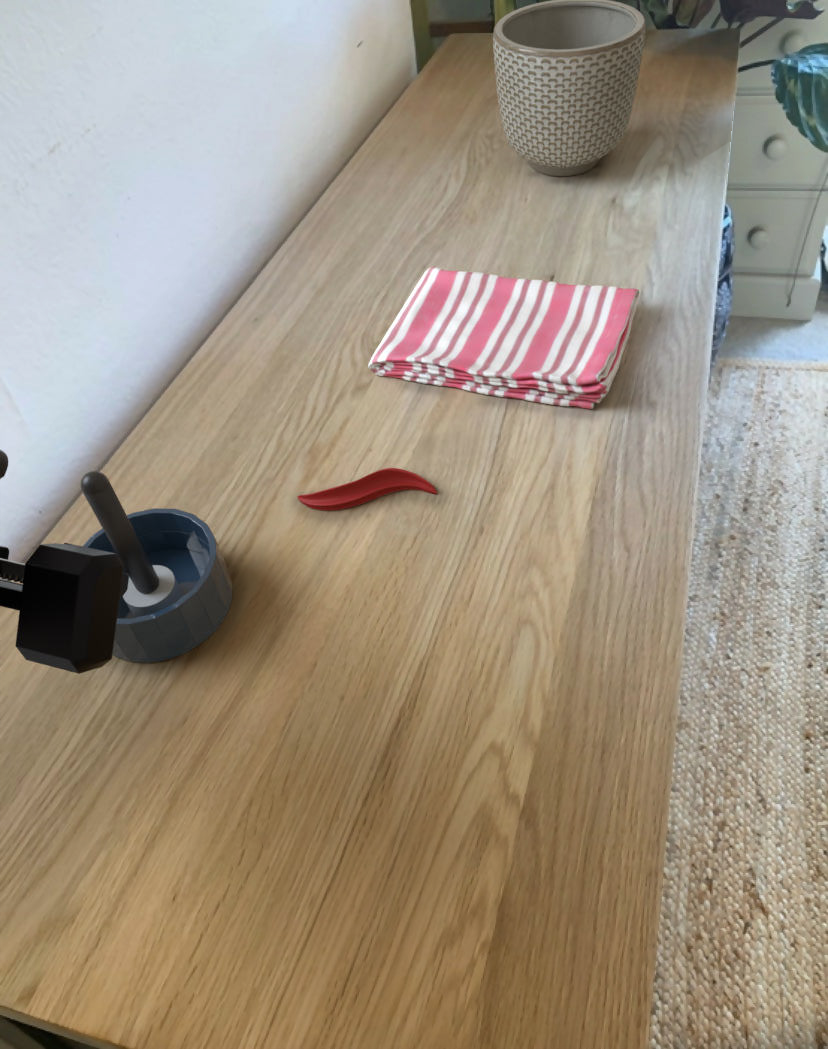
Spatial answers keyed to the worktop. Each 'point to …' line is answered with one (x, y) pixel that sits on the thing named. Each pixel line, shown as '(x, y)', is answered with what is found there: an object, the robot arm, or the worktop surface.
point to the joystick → (130, 550)
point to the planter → (567, 80)
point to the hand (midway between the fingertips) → (65, 568)
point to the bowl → (198, 574)
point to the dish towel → (509, 337)
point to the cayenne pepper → (366, 489)
